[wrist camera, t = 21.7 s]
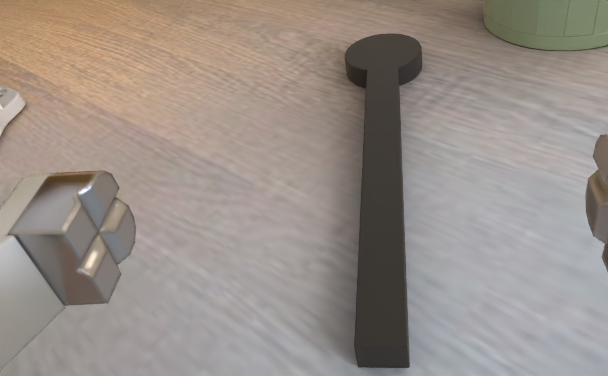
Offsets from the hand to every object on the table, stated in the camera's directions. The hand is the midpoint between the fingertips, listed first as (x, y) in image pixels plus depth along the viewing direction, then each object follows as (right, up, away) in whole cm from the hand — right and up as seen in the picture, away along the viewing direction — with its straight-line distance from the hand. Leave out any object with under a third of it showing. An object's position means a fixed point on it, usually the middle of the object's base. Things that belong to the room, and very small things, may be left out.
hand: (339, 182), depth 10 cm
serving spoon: (+4, +1, +22) cm, 22 cm away
